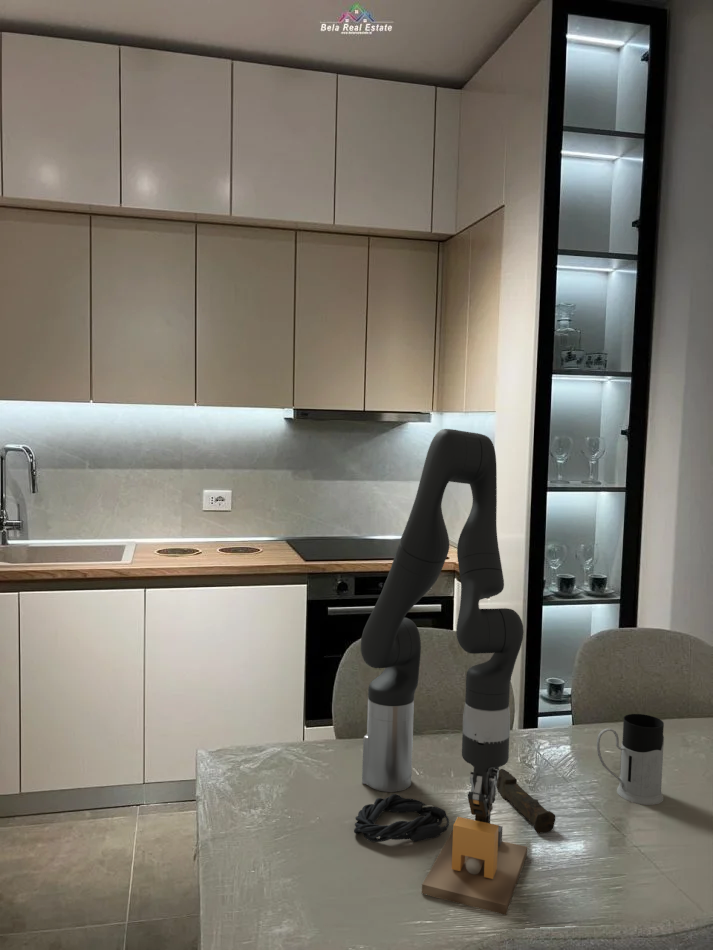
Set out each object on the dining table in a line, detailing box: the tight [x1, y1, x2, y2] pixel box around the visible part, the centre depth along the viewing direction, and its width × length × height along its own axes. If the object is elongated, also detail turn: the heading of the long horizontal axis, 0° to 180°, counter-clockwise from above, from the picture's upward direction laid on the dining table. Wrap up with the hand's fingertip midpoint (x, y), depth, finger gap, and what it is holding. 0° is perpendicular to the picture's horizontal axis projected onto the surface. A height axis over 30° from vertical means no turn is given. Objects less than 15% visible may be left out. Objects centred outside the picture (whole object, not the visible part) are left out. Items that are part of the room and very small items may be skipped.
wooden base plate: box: [421, 825, 528, 916], centre depth 128 cm, size 13×18×4 cm
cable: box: [353, 793, 450, 843], centre depth 142 cm, size 17×14×4 cm
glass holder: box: [596, 713, 665, 806], centre depth 157 cm, size 9×14×15 cm, turn 102°
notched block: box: [452, 816, 500, 879], centre depth 126 cm, size 7×3×7 cm, turn 68°
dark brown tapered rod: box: [496, 768, 556, 834], centre depth 151 cm, size 19×4×5 cm, turn 15°
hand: (482, 834), depth 129 cm, fingers closed
